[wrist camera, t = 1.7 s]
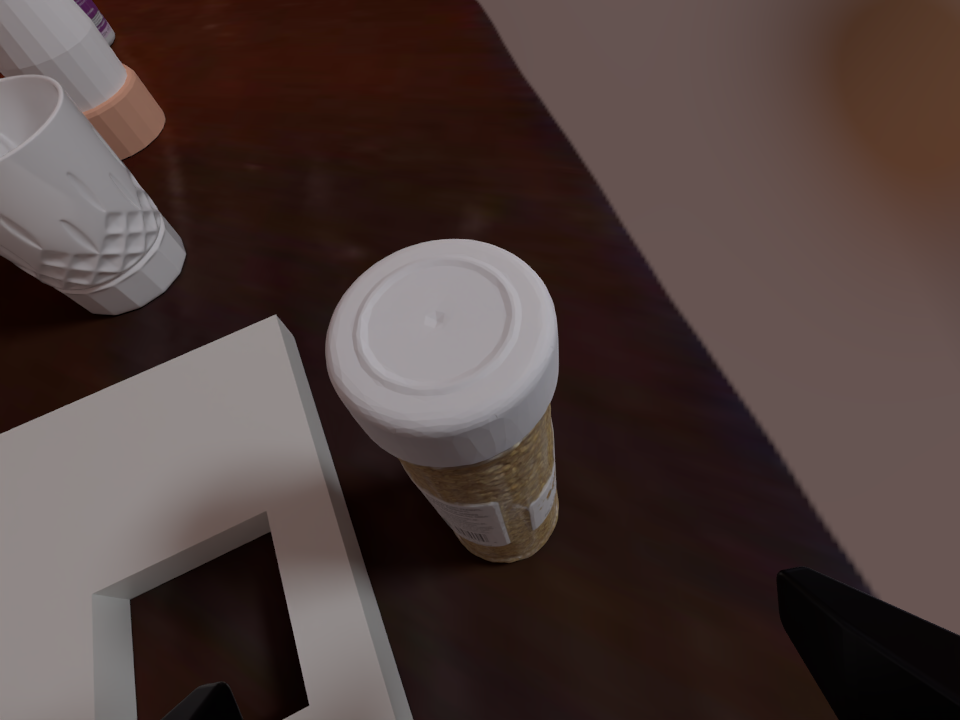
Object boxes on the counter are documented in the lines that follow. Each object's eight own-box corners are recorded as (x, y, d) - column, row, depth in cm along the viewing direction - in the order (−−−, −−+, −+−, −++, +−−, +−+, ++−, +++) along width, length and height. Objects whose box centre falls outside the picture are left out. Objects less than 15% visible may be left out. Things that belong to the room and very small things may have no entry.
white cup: (137, 339, 28) (-44, 201, 20) (43, 307, 31) (-155, 170, 22) (221, 238, 32) (97, 82, 23) (130, 215, 34) (-12, 66, 26)
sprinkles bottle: (582, 516, 20) (613, 327, 9) (491, 591, 19) (395, 488, 8) (511, 433, 23) (463, 196, 11) (427, 497, 22) (278, 309, 10)
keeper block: (431, 780, 17) (417, 794, 15) (-208, 1140, 14) (-310, 1203, 13) (293, 336, 27) (275, 314, 25) (-94, 507, 25) (-143, 495, 23)
